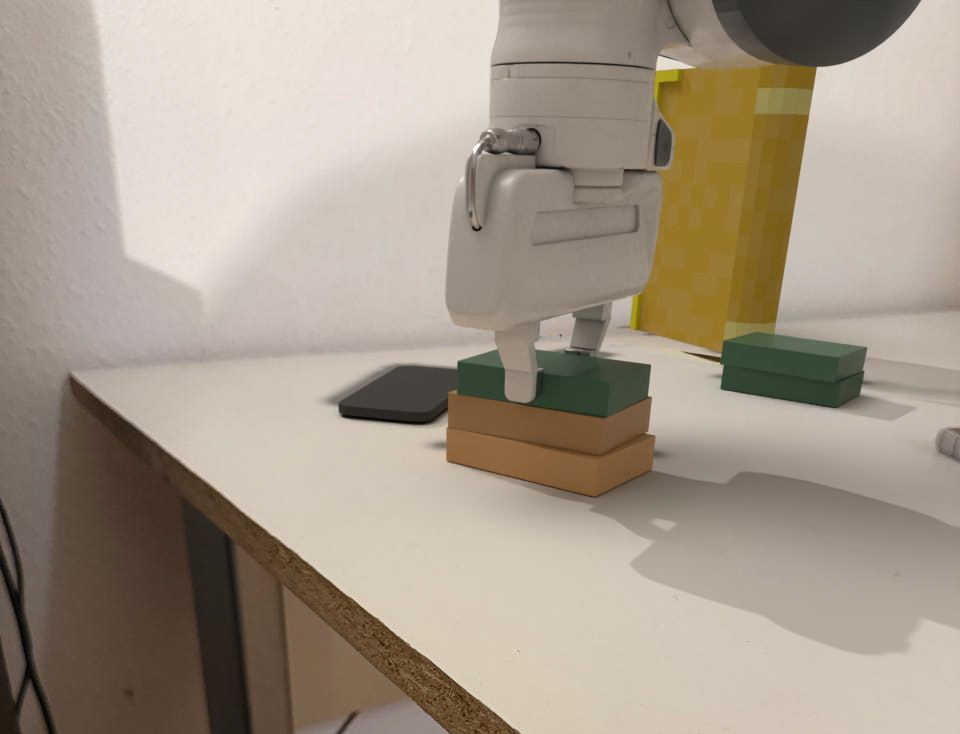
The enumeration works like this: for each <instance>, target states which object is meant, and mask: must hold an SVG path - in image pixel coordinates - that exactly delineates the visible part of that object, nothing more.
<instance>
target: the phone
mask: <svg viewBox="0 0 960 734" xmlns="http://www.w3.org/2000/svg"><path fill="white" fill-rule="evenodd" d="M454 390H457V368H446V367H434V366H433V367H432V366H420V365H400V366H397V367H394V368H392V369H391V370H390V371H388V372H386V373H385V374H383V375H381V376H379V377H378V378H376V379H375V380H373V381H370V382H369V383H368V384H366V385H364V386H363V387H361V388H359V389H358V390H356V391H354V392H352V393H351V394H349V395H348V396H346V397H344V398H342V399H341V400H339V402H338V403H337V405H338V413H339V414H341V415H345V416H352V417H359V418H370V419H371V418H372V419H382V420H392V421H401V422H402V421H403V422H415V423H421V422H429V421H431V420H433V419H434V418H436V417H437V416H438V415H439V414H441V413H442V412H444V410H446V409H448V392H451V391H454Z"/></svg>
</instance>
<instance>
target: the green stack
mask: <svg viewBox="0 0 960 734" xmlns="http://www.w3.org/2000/svg"><path fill="white" fill-rule="evenodd" d="M867 353H868V346H862V345H855V344H847V343H842V342H841V343H840V342H833V341H827V340H826V341H825V340H819V339H812V338H804V337H796V336H789V335H783V334H776V333H774V334H768V333H761V332H754V333H750V334H746V335H742V336H738V337H735V338H731V339H727V340H723V346H722V353H721V352H720V354H721V355H720V357H721V361H720V362H719V364H720V365H722V373H721V380H720V390H724V391H725V390H726V391H731V392H737V393H738V392H739V393H743V394H749V395H755V396H762V397H768V398H774V399H779V400H780V399H781V400H787V401H793V402H799V403H805V404H810V403H812V404H811V405H816V404H818V405H817V406H823V405H824V407H829V406H830V408H838V407H839V406H841V405H843V404H845V403H847V402H848V401H849V402H850V401H851V400H852V399H854V398H856V397H858V396H860V395H861V390H862V387H863V382H864V376H865V370H864V368H865V367H864V366H865V363H866V357H867Z"/></svg>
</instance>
